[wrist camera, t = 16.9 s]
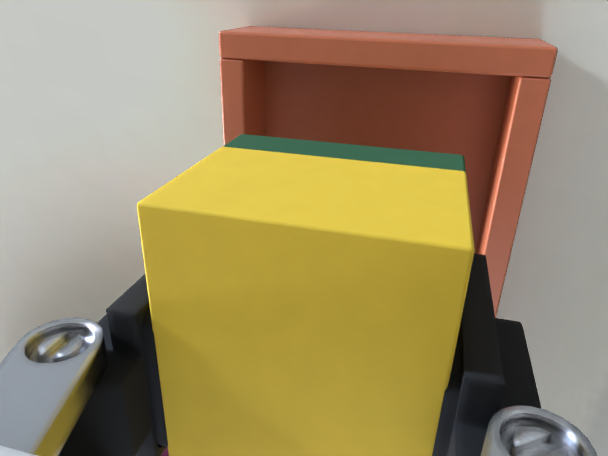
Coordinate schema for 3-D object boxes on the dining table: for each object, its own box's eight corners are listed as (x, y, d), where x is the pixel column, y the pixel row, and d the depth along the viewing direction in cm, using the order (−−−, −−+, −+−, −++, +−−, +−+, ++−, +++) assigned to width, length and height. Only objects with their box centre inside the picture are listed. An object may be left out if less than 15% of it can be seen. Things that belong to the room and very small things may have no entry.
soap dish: (248, 26, 13) (217, 30, 11) (542, 39, 11) (559, 47, 10) (255, 338, 17) (233, 376, 16) (468, 379, 16) (470, 427, 14)
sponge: (240, 132, 10) (134, 202, 7) (464, 154, 9) (475, 248, 6) (248, 389, 13) (177, 530, 10) (418, 426, 12) (407, 596, 9)
